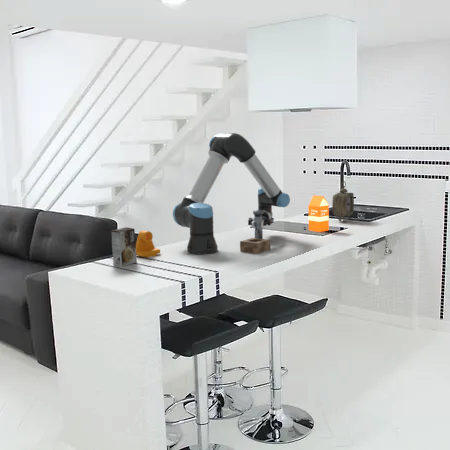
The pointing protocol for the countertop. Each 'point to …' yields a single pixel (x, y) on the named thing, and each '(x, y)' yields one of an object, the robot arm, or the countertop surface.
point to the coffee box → (123, 246)
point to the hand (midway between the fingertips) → (257, 225)
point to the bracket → (145, 245)
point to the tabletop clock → (343, 203)
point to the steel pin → (258, 223)
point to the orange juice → (318, 214)
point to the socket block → (255, 245)
